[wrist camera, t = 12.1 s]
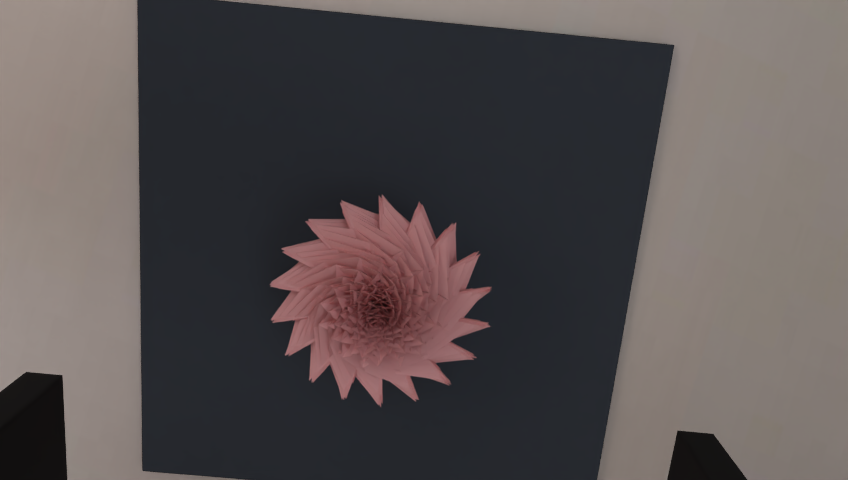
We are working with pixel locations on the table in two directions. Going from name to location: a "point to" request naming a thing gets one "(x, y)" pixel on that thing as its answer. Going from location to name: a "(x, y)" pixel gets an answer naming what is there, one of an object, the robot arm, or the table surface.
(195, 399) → the mat
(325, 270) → the flower
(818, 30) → the table surface
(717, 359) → the table surface
